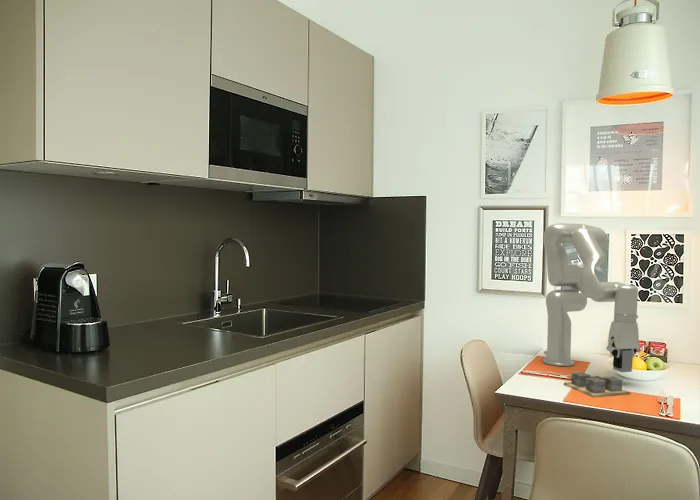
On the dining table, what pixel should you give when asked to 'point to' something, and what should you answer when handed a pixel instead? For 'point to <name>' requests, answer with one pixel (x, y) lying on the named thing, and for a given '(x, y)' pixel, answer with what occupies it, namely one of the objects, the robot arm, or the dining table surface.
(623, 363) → the dark gray rectangular block
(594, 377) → the board
